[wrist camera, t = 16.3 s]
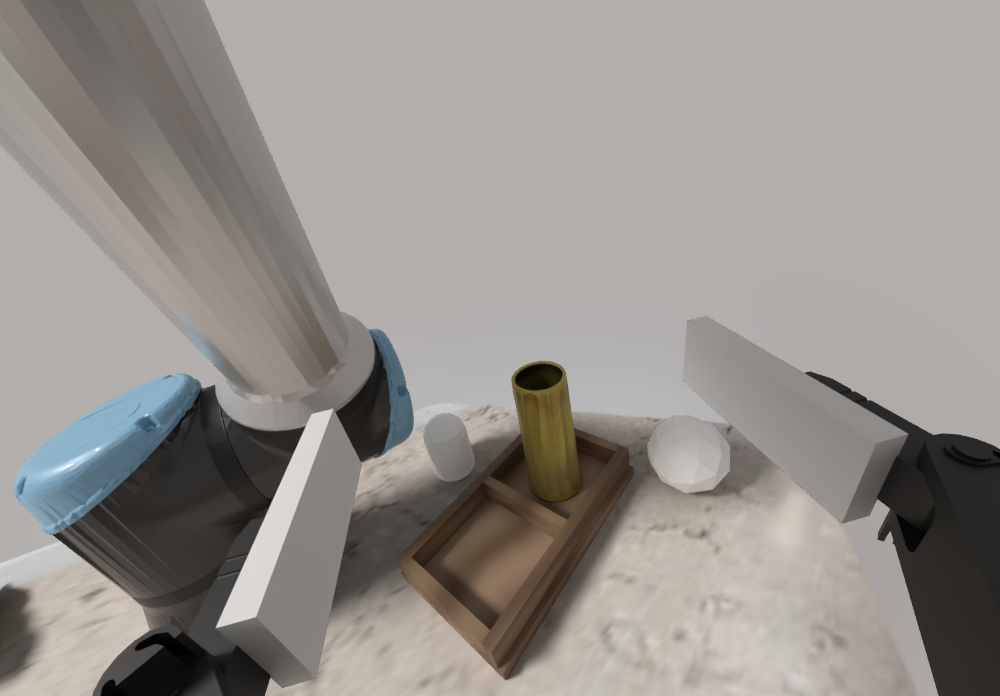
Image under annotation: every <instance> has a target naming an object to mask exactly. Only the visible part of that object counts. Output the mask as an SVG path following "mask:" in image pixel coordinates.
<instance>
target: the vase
mask: <svg viewBox="0 0 1000 696" xmlns="http://www.w3.org/2000/svg"><path fill="white" fill-rule="evenodd" d="M512 387H513V393H514V398H515V403H516V408H517V413H518V419H519V425H520V430H521V436H522V442H523V447H524V453H525V458H526V462H527V465H528V470H529V476H528V481H529V486H530V489H531V490H532V492H533V493H534V494H535V495H537V496H538V497H540V498H541V499H544V500H547V501H562V500H566V499H568V498H570V497H572V496H573V495H575V494H576V493H577V492H578V491H579V489H580V487H581V485H582V481H583V475H582V471H581V469H580V465H579V460H578V454H577V446H576V439H575V433H574V426H573V420H572V415H571V406H570V398H569V391H568V384H567V377H566V372H565V370H564V368H563V367H562V366H561V365H559V364H557V363H554V362H550V361H538V362H533V363H530V364H527V365H525V366H523V367H521V368H519V369H518V370H517V371H516V372H515V373H514V374H513V376H512Z"/></svg>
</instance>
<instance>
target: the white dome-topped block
mask: <svg viewBox="0 0 1000 696" xmlns="http://www.w3.org/2000/svg"><path fill="white" fill-rule="evenodd" d="M424 444H425V446H426V449H427V452H428V454H429V457H430V459H431V462H432V465H433V467H434V470H435V473H436V475H437V476H438V477H439V479H441V480H443V481H448V482H454V481H457V480H461V479H463V478H464V477H466V476H467V475H469V473H470V472H471V471H472V470H473V468H474V465H475V458H474V454H473V451H472V448H471V444H470V441H469V438H468V434H467V431H466V428H465V425H464V424H463V422H462V421H461V420H460V419H459V418H458V417H457V416H455V415H453V414H450V413H442V414H439V415H436V416H434V417H432V418H431V419H430V420H429V421H428V423H427V425H426V427H425V429H424Z"/></svg>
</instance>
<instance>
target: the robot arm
mask: <svg viewBox="0 0 1000 696" xmlns="http://www.w3.org/2000/svg"><path fill="white" fill-rule="evenodd" d="M0 146H1V147H2V148H3V149H4V150H5V151H6V152H7V153H8V154H9V155H10V156H11V157H12V158H13V159H14V160H15V161H16V162H17V163H18V165H19V166H20V167H21V168H22V169H24V171H25V172H26V173H27V174H28V175H29V176H30V177H31V178H32V179H33V180H34V181H35V182H36V183H37V184H38V185H39V186H40V187H41V188H42V189H43V190H44V191H45V192H46V193H47V194H48V195H49V196H50V197H51V198H52V199H53V200H54V201H55V202H56V204H57V205H58V206H59V207H61V209H62V210H63V211H64V212H65V213H66V214H67V215H68V216H69V217H70V218H71V219H72V220H73V221H74V222H75V223H76V224H77V225H78V226H79V227H80V228H81V229H82V230H83V231H84V232H85V233H86V234H87V235H88V236H89V237H90V239H92V240H93V242H94V243H95V244H96V245H97V246H98V247H99V248H100V249H101V250H102V251H103V252H104V253H105V254H106V255H107V256H108V257H109V258H110V259H111V260H112V261H113V262H114V263H115V264H116V265H117V266H118V267H119V268H120V269H121V270H122V271H123V272H124V273H125V274H126V275H127V277H128V278H129V279H130V280H131V281H132V282H133V283H134V284H135V285H136V286H137V287H138V288H139V289H140V290H141V291H142V292H143V293H144V294H145V295H146V296H147V297H148V298H149V299H150V300H151V301H152V302H153V303H154V304H155V305H156V306H157V307H158V308H159V309H160V310H161V311H162V312H163V314H164V315H165V316H166V317H167V318H168V319H169V320H170V321H171V322H172V323H173V324H174V325H175V326H176V327H177V328H178V329H179V330H180V331H181V332H182V333H183V334H184V335H185V336H186V337H187V338H188V339H189V340H190V341H191V342H192V343H193V344H194V345H195V346H196V347H197V348H198V349H199V351H200V352H201V353H202V354H203V355H204V356H205V357H206V358H207V359H208V360H209V361H210V362H211V363H212V364H213V365H214V366H215V367H216V368H217V369H218V373H217V376H216V384H215V385H213V386H210V387H207V388H201V387H202V386H201V383H200V382H199V381H198V380H196V379H194V378H192V377H191V376H189V375H186V374H176V375H174V376H171V375H168V376H164V377H162V378H158V379H155V380H152V381H150V382H147V383H145V384H142V385H140V386H138V387H136V388H133V389H131V390H129V391H127V392H125V393H123V394H121V395H120V396H118V397H116V398H114V399H112V400H110V401H108V402H106V403H104V404H103V405H101V406H99V407H97V408H96V409H94V410H92V411H91V412H89V413H87V414H86V415H84V416H83V417H81V418H80V419H78V420H77V421H75V422H74V423H72V424H71V425H69V426H68V427H66V428H65V429H63V430H62V431H61V432H59V433H58V434H57V435H56V436H54V437H53V438H52V439H50V440H49V441H48V442H46V443H45V444H44V445H43V446H42V447H40V449H38V450H37V451H36V452H35V453H34V454H33V455H32V456H31V457H30V458H29V459H28V460H27V461H26V463H25V464H24V465H23V467H22V468H21V469H20V471H19V472H18V474H17V477H16V479H15V482H14V493H15V496H16V498H17V499H18V501H19V502H20V503H21V504H22V505H23V506H24V507H25V508H26V509H27V510H28V511H29V512H30V513H31V514H32V515H33V516H34V517H35V518H36V519H37V520H38V521H39V522H40V523H41V525H42V529H43V531H44V532H45V533H47V534H50V535H53V536H55V537H56V538H57V539H58V540H60V541H61V542H62V543H64V544H65V545H66V546H67V547H69V548H70V549H71V550H72V551H74V552H75V553H76V554H77V555H79V556H80V557H81V558H83V559H84V560H85V561H86V562H88V563H89V564H90V565H91V566H93V567H94V568H95V569H97V570H98V571H99V572H100V573H102V574H103V575H104V576H105V577H107V578H108V579H109V580H110V581H112V582H113V583H114V584H116V585H117V586H118V587H119V588H121V589H122V590H123V591H124V592H126V593H127V594H128V595H130V596H131V597H132V598H133V599H134V600H136V601H137V602H138V603H139V604H140V605H141V606H142V607H143V610H144V613H145V616H146V619H147V623H148V626H149V629H150V631H149V632H147V633H146V634H144V635H143V636H141V637H140V638H138V639H137V640H135V641H134V642H133V643H132V644H130V645H129V646H128V647H127V648H126V649H125V650H124V651H123V652H122V653H121V654H119V655H118V656H117V657H116V659H115V660H114V661H113V662H112V664H111V665H110V666H109V667H108V669H107V670H106V671H105V672H104V673H103V675H102V677H101V679H100V681H99V682H98V684H97V686H96V688H95V690H94V692H93V696H265V693H266V690H267V686H268V683H269V680H270V677H271V678H272V679H273V680H274V681H275V682H276V683H277V684H278V685H280V686H281V687H282V688H284V687H288V686H291V685H295V684H298V683H301V682H305V681H308V680H312V679H315V678H316V677H317V673H318V668H319V663H320V658H321V654H322V649H323V644H324V640H325V635H326V630H327V626H328V621H329V616H330V612H331V607H332V602H333V597H334V593H335V588H336V583H337V579H338V574H339V569H340V565H341V560H342V555H343V551H344V546H345V541H346V536H347V532H348V527H349V522H350V518H351V513H352V508H353V504H354V499H355V494H356V490H357V485H358V480H359V475H360V471H361V466H362V464H361V463H362V462H365V461H367V460H369V459H371V458H373V457H374V458H377V457H380V456H382V455H384V454H385V453H386V452H387V451H388V450H389V449H391V448H393V447H395V446H397V445H399V444H400V443H402V442H404V441H405V440H406V439H407V438H408V437H409V436H410V434H411V432H412V430H413V424H414V416H413V409H412V403H411V398H410V395H409V392H408V390H407V388H406V381H405V377H404V373H403V370H402V367H401V365H400V362H399V359H398V357H397V355H396V352H395V350H394V348H393V346H392V344H391V342H390V341H389V339H388V337H387V336H386V334H385V333H384V332H383V331H381V330H379V329H367V328H366V327H365V326H364V325H363V324H362V323H361V322H360V321H359V320H357V319H356V318H354V317H353V316H351V315H348V314H346V313H343V312H340V311H339V309H338V306H337V304H336V302H335V300H334V297H333V295H332V293H331V291H330V288H329V286H328V284H327V282H326V279H325V277H324V275H323V272H322V270H321V268H320V266H319V263H318V261H317V259H316V256H315V254H314V252H313V249H312V247H311V245H310V243H309V240H308V238H307V236H306V233H305V231H304V229H303V227H302V225H301V222H300V220H299V218H298V215H297V213H296V211H295V208H294V206H293V204H292V201H291V199H290V197H289V195H288V193H287V190H286V188H285V185H284V183H283V181H282V179H281V176H280V174H279V172H278V169H277V167H276V165H275V163H274V160H273V158H272V156H271V153H270V151H269V149H268V147H267V144H266V142H265V140H264V137H263V135H262V133H261V131H260V128H259V126H258V124H257V121H256V119H255V117H254V114H253V112H252V110H251V108H250V106H249V104H248V101H247V98H246V96H245V94H244V91H243V89H242V87H241V85H240V82H239V80H238V78H237V76H236V73H235V71H234V69H233V66H232V64H231V62H230V60H229V58H228V55H227V52H226V50H225V48H224V46H223V43H222V41H221V39H220V37H219V34H218V32H217V30H216V27H215V25H214V23H213V20H212V18H211V16H210V14H209V11H208V9H207V7H206V4H205V2H204V0H0ZM683 382H684V383H685V384H686V385H687V386H688V387H690V388H691V389H692V390H693V391H694V392H695V393H696V394H697V395H698V396H700V397H701V398H702V399H703V400H704V401H705V402H706V403H707V404H709V405H710V406H711V407H712V408H713V409H714V410H715V411H716V412H717V413H719V414H720V415H721V416H722V417H723V418H724V419H725V420H726V421H728V422H729V423H730V424H731V425H732V426H733V427H734V428H735V429H736V430H738V431H739V432H740V433H741V434H742V435H743V436H744V437H745V438H746V439H748V440H749V441H750V442H751V443H752V444H753V445H754V446H755V447H757V448H758V449H759V450H760V451H761V452H762V453H763V454H764V455H765V456H767V457H768V458H769V459H770V460H771V461H772V462H773V463H774V464H776V465H777V466H778V467H779V468H780V469H781V470H782V471H783V472H784V473H786V474H787V475H788V476H789V477H790V478H791V479H792V480H793V481H794V482H796V483H797V484H798V485H799V486H800V487H801V488H802V489H803V490H805V491H806V492H807V493H808V494H809V495H810V496H811V497H812V498H813V499H815V500H816V501H817V502H818V503H819V504H820V505H821V506H822V507H824V508H825V509H826V510H827V511H828V512H829V513H830V514H831V515H832V516H834V517H835V518H836V519H837V520H838V521H839V522H840V523H841V524H843V523H846V522H849V521H853V520H856V519H860V518H863V517H866V516H869V515H870V513H871V511H872V509H873V507H874V505H875V503H876V501H877V499H878V500H880V501H881V502H882V503H884V504H885V505H886V506H887V507H889V508H890V511H889V513H888V515H887V516H886V518H885V520H884V522H883V524H882V526H881V528H880V530H879V532H878V540H881V541H884V540H885V538H886V536H887V535H888V533H889V532H890V531H891V534H892V537H893V540H894V541H893V544H895V547H896V551H897V554H898V557H899V561H900V564H901V568H902V571H903V575H904V578H905V582H906V585H907V588H908V592H909V595H910V599H911V602H912V606H913V609H914V612H915V616H916V619H917V623H918V626H919V630H920V633H921V637H922V640H923V643H924V647H925V650H926V653H927V657H928V660H929V664H930V667H931V671H932V674H933V678H934V681H935V685H936V688H937V691H938V695H939V696H1000V449H998V448H997V447H995V446H993V445H991V444H988V443H986V442H983V441H980V440H978V439H975V438H971V437H966V436H962V435H956V434H938V435H932V434H930V433H928V432H927V431H925V430H923V429H921V428H919V427H918V426H916V425H914V424H912V423H910V422H909V421H907V420H905V419H903V418H902V417H900V416H898V415H896V414H894V413H893V412H891V411H889V410H887V409H885V408H883V407H882V406H880V405H878V404H876V403H875V402H873V401H871V400H870V401H868V400H867V398H866V397H864V396H862V395H860V394H859V393H857V392H855V391H854V392H852V391H851V389H850V388H848V387H846V386H844V385H842V384H841V383H839V382H837V381H835V380H833V379H831V378H828V377H825V376H822V375H819V374H816V373H813V372H806V373H803V372H802V371H800V370H798V369H796V368H795V367H793V366H791V365H790V364H788V363H786V362H784V361H783V360H781V359H779V358H777V357H776V356H774V355H772V354H771V353H769V352H767V351H765V350H764V349H762V348H760V347H759V346H757V345H755V344H754V343H752V342H750V341H749V340H747V339H745V338H743V337H742V336H740V335H738V334H737V333H735V332H733V331H731V330H730V329H728V328H726V327H725V326H723V325H721V324H719V323H718V322H716V321H714V320H712V319H711V318H709V317H707V316H704V317H700V318H696V319H692V320H688V321H687V328H686V341H685V355H684V369H683Z"/></svg>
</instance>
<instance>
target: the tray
mask: <svg viewBox="0 0 1000 696" xmlns="http://www.w3.org/2000/svg"><path fill="white" fill-rule="evenodd" d="M574 433H575V439H576V446H577V454H578V460H579V465H580V469H581V471H582V475H583V481H582V485H581V487H580V489H579V491H578V492H577V493H576V494H575V495H573V496H572V497H570V498H568V499H566V500H562V501H547V500H544V499H541V498H540V497H538V496H537V495H535V494H534V493H533V492H532V490H531V489H530V486H529V481H528V476H529V470H528V465H527V462H526V458H525V453H524V447H523V442H522V436H521V434H520V435H519V436H518V437H517V438H516V439H515V440H514V441H513V442H512V443H511V444H510V445H509V446H508V447H507V448H506V449H505V450H504V451H503V452H502V453H501V454H500V455H499V456H498V457H497V458H496V459H495V460H494V461H493V462H492V463H491V464H490V465H489V467H488V468H487V469H486V470H485V471H484V472H483V473H482V474H481V475H480V476H479V477H478V478H477V479H476V480H475V481H474V482H473V483H472V484H471V485H470V486H469V487H468V488H467V489H466V490H465V491H464V492H463V493H462V494H461V495H460V496H459V497H458V498H457V499H456V500H455V501H454V502H453V503H452V504H451V505H450V506H449V507H448V508H447V509H446V510H445V511H444V512H443V513H442V514H441V515H440V516H439V517H438V518H437V519H436V520H435V521H434V522H433V523H432V524H431V525H430V526H429V527H428V528H427V529H426V530H425V531H424V532H423V533H422V534H421V535H420V536H419V537H418V538H417V539H416V540H415V541H414V542H413V544H412V545H411V546H410V547H409V548H408V549H407V550H406V551H405V552H404V553H403V554H402V555H401V556H400V557H399V558H398V559H397V562H398V564H399V566H400V568H401V569H402V574H403V576H404V578H405V579H406V580H407V581H408V582H409V583H410V584H411V585H412V586H413V587H414V588H415V589H416V590H417V591H418V592H419V593H420V594H421V595H422V596H423V597H424V599H425V600H426V601H427V602H428V603H429V604H430V605H431V606H432V607H433V608H434V609H435V610H436V611H437V612H438V613H439V614H440V615H441V616H442V617H443V618H444V619H445V620H446V621H447V622H448V623H449V624H450V625H451V626H452V627H453V628H454V629H455V630H456V631H457V632H458V633H459V634H460V635H461V636H462V637H463V638H464V639H465V640H466V641H467V642H468V643H469V644H470V645H471V646H472V647H473V648H474V649H475V650H476V651H477V652H478V653H479V654H480V655H481V656H482V657H483V658H484V659H485V660H486V661H487V662H488V663H489V664H490V665H491V666H492V667H493V668H494V669H495V670H496V671H497V672H498V673H499V674H500V675H501V676H502V677H503V678H504V679H505V680H506V679H507V677H508V676H509V674H510V672H511V671H512V669H513V668H514V666H515V664H516V663H517V661H518V660H519V658H520V656H521V655H522V653H523V651H524V650H525V648H526V647H527V645H528V643H529V642H530V640H531V639H532V637H533V635H534V634H535V632H536V630H537V629H538V627H539V626H540V624H541V622H542V621H543V619H544V618H545V616H546V614H547V613H548V611H549V609H550V608H551V606H552V605H553V603H554V601H555V600H556V598H557V597H558V595H559V593H560V592H561V590H562V588H563V587H564V585H565V584H566V582H567V580H568V579H569V577H570V576H571V574H572V572H573V571H574V569H575V567H576V566H577V564H578V563H579V561H580V559H581V558H582V556H583V555H584V553H585V551H586V550H587V548H588V547H589V545H590V543H591V542H592V540H593V538H594V537H595V535H596V534H597V532H598V530H599V529H600V527H601V526H602V524H603V522H604V521H605V519H606V517H607V516H608V514H609V513H610V511H611V509H612V508H613V506H614V505H615V503H616V501H617V500H618V498H619V496H620V495H621V493H622V492H623V490H624V488H625V487H626V485H627V484H628V482H629V480H630V479H631V477H632V475H633V467H632V466H630V465H629V455H628V449H627V448H625V447H622V446H620V445H617V444H614V443H612V442H609V441H606V440H604V439H601V438H598V437H596V436H593V435H590V434H588V433H585V432H582V431H580V430H577V429H575V428H574Z"/></svg>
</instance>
